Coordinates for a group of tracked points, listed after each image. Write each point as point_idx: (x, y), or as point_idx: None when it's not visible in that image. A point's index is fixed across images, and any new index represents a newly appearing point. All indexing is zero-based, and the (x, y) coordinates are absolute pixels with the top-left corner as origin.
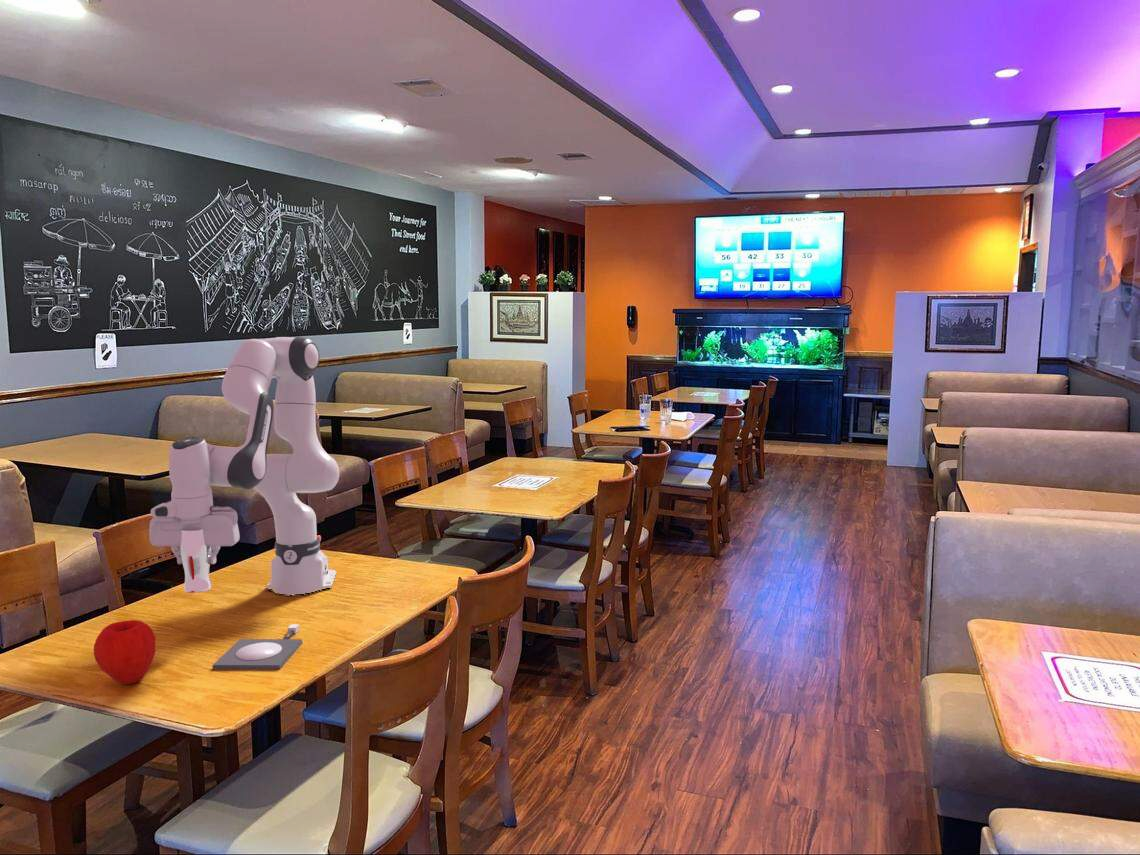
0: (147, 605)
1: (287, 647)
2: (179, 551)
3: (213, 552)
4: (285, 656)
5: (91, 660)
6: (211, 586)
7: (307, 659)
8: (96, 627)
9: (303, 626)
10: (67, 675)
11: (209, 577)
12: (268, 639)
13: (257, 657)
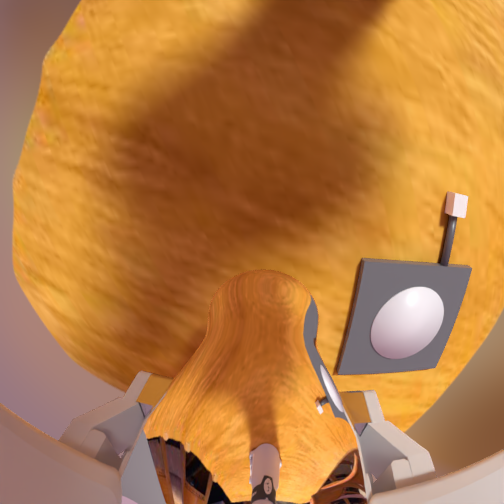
0: (69, 46)
1: (451, 305)
2: (116, 427)
3: (379, 474)
4: (445, 340)
5: (108, 315)
6: (318, 314)
7: (467, 329)
8: (36, 165)
9: (462, 170)
10: (116, 360)
11: (316, 337)
12: (421, 266)
13: (407, 351)
